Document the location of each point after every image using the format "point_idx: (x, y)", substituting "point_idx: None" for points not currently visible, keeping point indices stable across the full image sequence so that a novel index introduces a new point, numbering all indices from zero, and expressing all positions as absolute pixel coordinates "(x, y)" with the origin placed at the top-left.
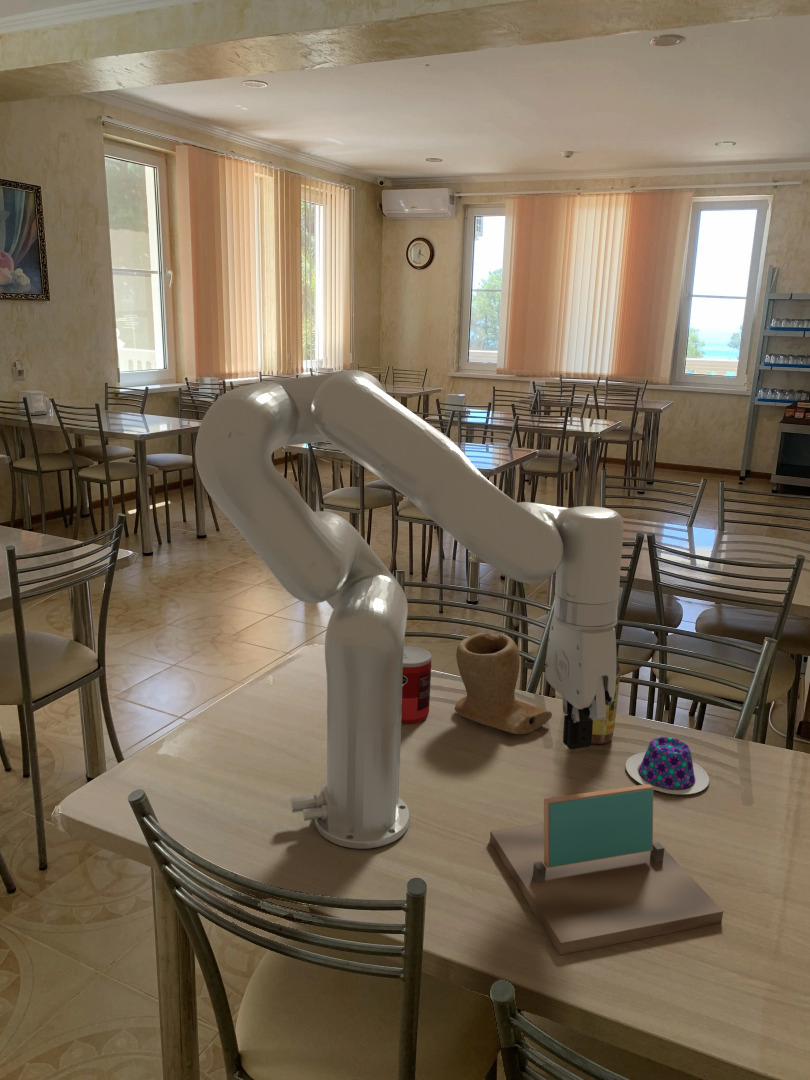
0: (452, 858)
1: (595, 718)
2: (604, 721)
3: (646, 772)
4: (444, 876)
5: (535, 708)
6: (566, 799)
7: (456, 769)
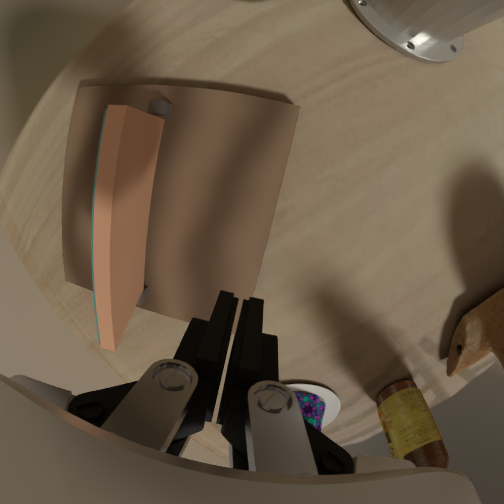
0: (286, 42)
1: (22, 381)
2: (387, 416)
3: (303, 399)
4: (255, 18)
5: (465, 364)
6: (99, 154)
7: (462, 194)
